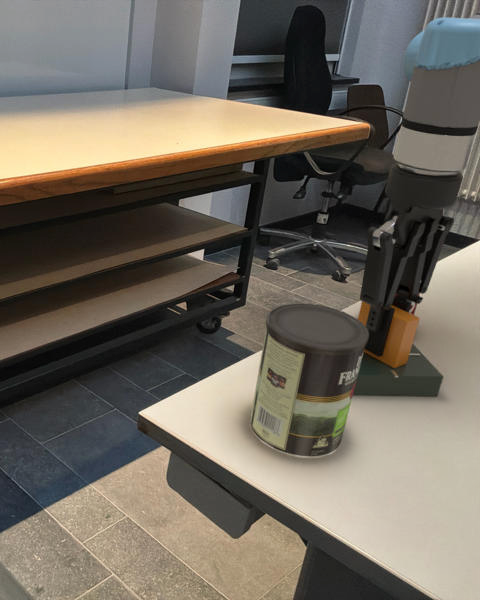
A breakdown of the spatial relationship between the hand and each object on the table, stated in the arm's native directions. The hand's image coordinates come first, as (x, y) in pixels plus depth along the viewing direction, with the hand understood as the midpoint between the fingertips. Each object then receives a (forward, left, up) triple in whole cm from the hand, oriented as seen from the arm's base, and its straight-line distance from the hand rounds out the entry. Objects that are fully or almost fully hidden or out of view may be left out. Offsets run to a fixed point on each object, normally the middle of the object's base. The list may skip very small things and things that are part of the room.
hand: (379, 347), depth 86 cm
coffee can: (+14, +12, -5) cm, 19 cm away
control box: (0, 0, -5) cm, 5 cm away
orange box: (0, 0, -1) cm, 1 cm away
